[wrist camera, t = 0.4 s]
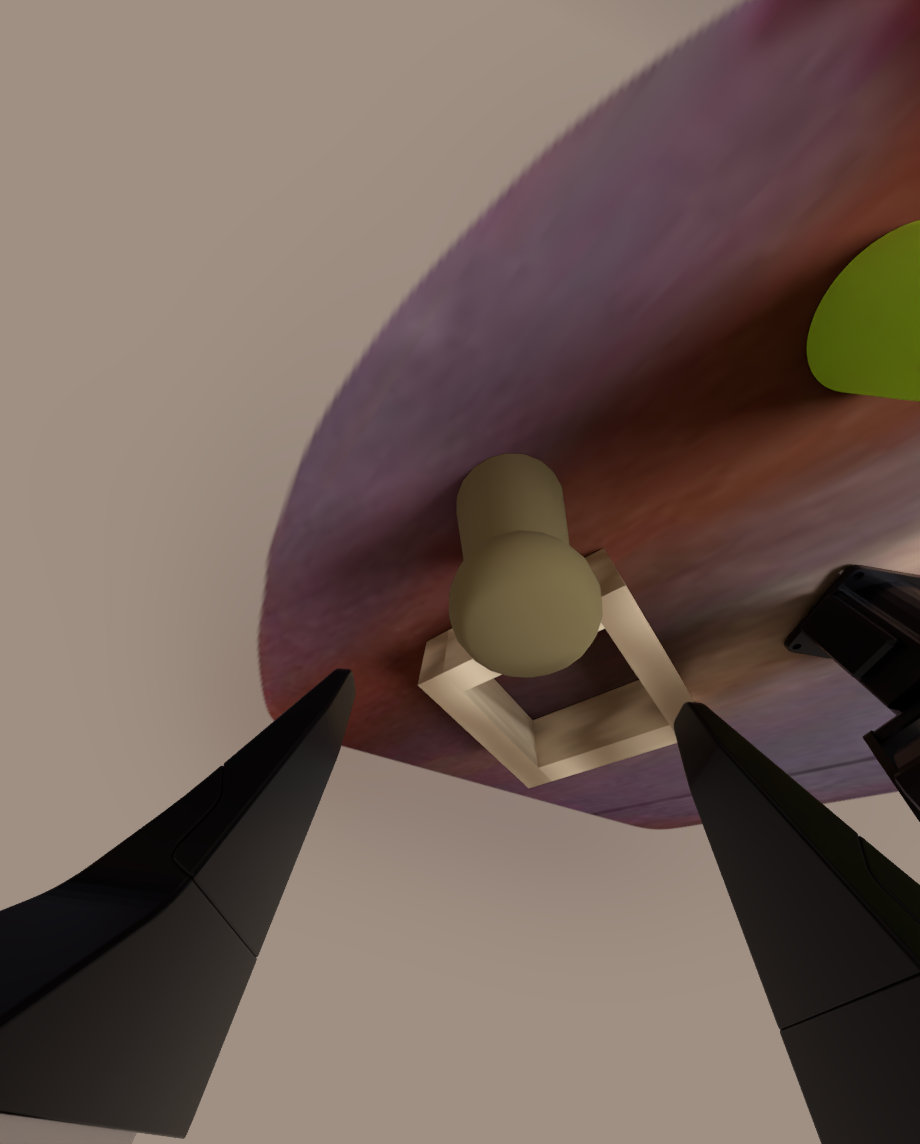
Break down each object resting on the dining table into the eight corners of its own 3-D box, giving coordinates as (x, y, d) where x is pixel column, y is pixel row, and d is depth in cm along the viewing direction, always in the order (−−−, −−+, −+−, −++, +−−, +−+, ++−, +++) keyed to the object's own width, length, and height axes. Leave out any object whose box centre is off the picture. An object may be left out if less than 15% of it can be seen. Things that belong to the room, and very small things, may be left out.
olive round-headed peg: (523, 570, 23) (549, 726, 13) (437, 524, 21) (398, 661, 12) (587, 489, 20) (676, 614, 10) (491, 430, 19) (496, 513, 9)
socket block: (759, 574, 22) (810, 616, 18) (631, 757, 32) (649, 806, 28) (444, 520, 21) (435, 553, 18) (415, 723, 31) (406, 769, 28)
